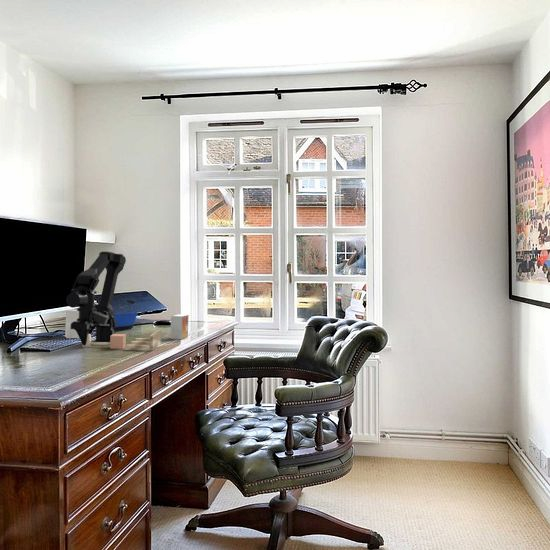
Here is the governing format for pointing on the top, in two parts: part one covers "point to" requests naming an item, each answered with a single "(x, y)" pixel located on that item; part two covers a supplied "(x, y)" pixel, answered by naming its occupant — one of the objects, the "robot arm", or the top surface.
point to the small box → (179, 326)
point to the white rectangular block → (70, 317)
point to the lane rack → (146, 342)
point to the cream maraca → (115, 342)
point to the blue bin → (125, 320)
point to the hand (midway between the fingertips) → (85, 344)
